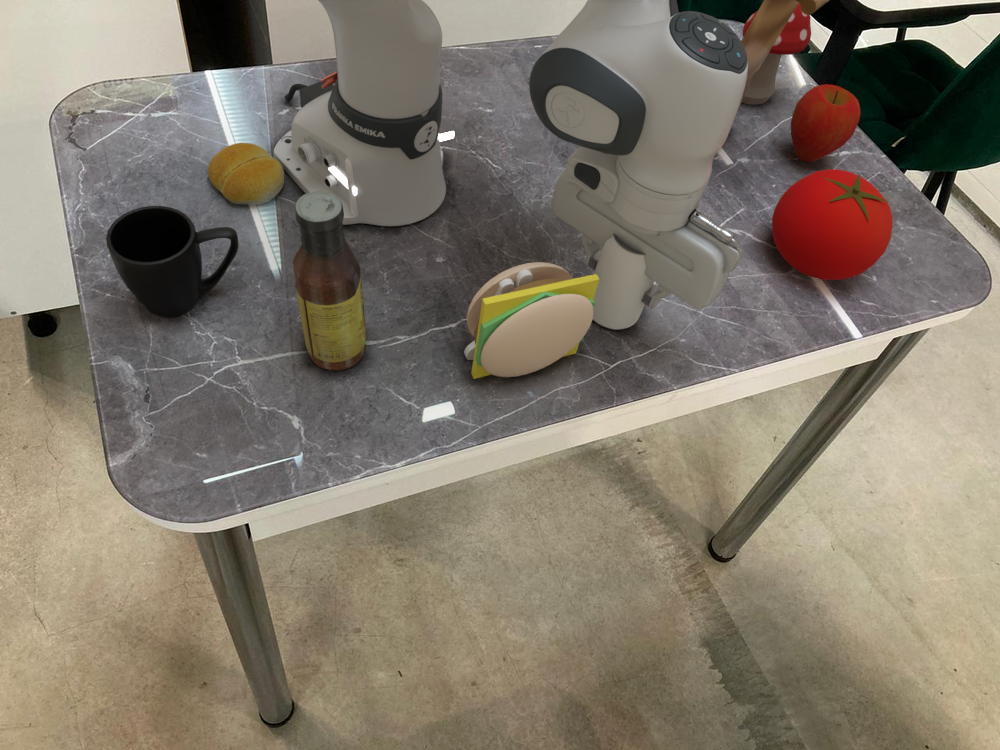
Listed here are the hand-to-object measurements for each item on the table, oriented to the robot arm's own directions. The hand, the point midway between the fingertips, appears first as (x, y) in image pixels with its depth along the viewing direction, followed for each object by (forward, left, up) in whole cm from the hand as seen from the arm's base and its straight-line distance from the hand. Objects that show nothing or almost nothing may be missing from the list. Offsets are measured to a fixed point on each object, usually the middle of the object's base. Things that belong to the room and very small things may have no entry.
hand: (621, 283), depth 88 cm
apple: (+3, +44, -5) cm, 44 cm away
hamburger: (-4, -12, -5) cm, 14 cm away
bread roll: (-44, -16, -5) cm, 47 cm away
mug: (-34, -32, -5) cm, 47 cm away
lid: (-7, +34, +15) cm, 38 cm away
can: (0, 0, -5) cm, 5 cm away
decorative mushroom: (-10, +51, -5) cm, 52 cm away
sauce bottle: (-18, -26, -5) cm, 32 cm away
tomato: (+13, +26, -5) cm, 30 cm away
